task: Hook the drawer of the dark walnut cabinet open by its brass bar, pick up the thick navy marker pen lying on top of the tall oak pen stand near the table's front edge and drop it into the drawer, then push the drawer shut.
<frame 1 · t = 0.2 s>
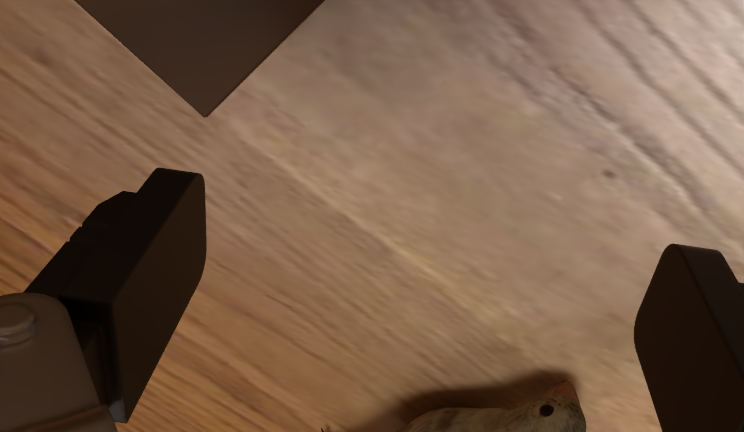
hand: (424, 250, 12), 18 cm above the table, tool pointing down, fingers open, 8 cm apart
decorative bird: (444, 414, 41), on the table
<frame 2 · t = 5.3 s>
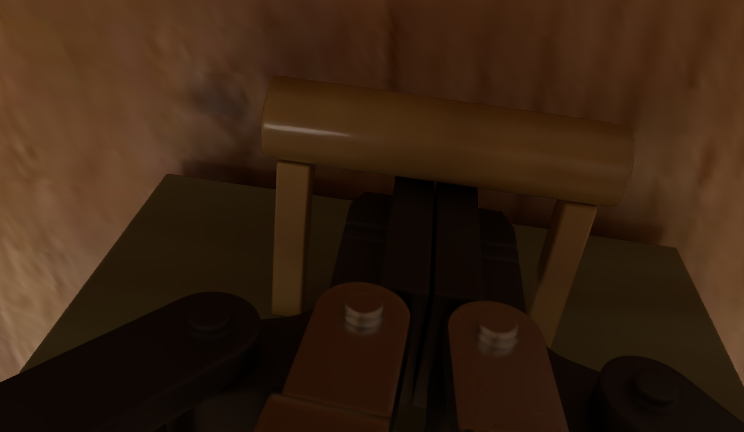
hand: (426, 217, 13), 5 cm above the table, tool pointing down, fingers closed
drawer: (387, 431, 17), point 5 cm above the table, slide at 0.5 cm, touching gripper
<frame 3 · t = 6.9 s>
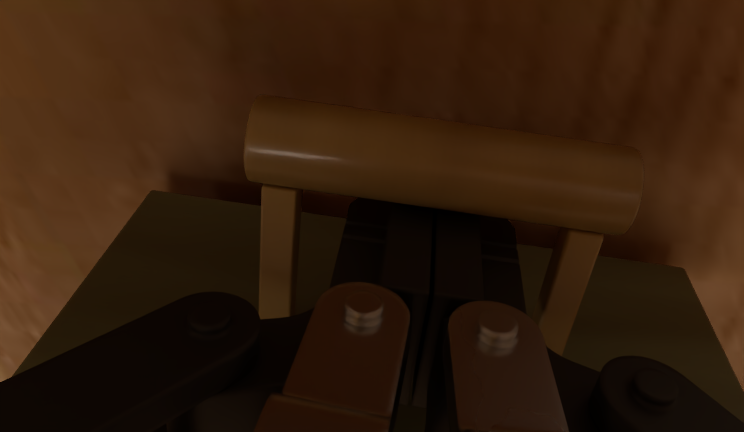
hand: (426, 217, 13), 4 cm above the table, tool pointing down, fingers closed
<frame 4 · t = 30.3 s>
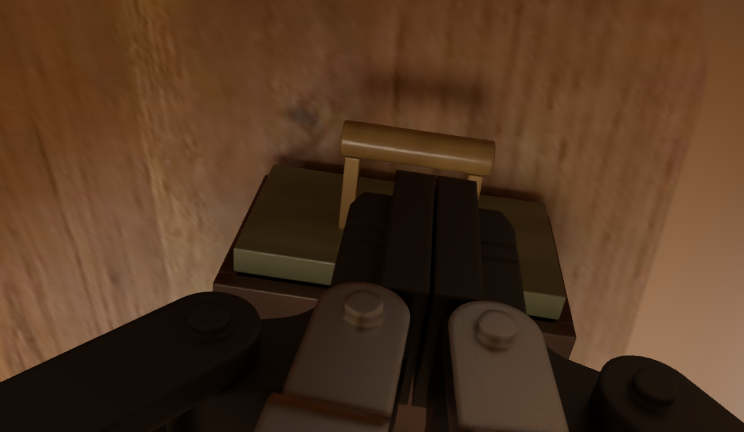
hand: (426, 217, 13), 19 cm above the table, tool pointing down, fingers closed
drawer: (392, 298, 32), point 5 cm above the table, slide at 0.0 cm, touching cabinet, pen
cabinet: (389, 304, 39), on the table
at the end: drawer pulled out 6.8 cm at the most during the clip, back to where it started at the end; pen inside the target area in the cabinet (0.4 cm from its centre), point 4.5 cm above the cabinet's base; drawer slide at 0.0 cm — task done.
